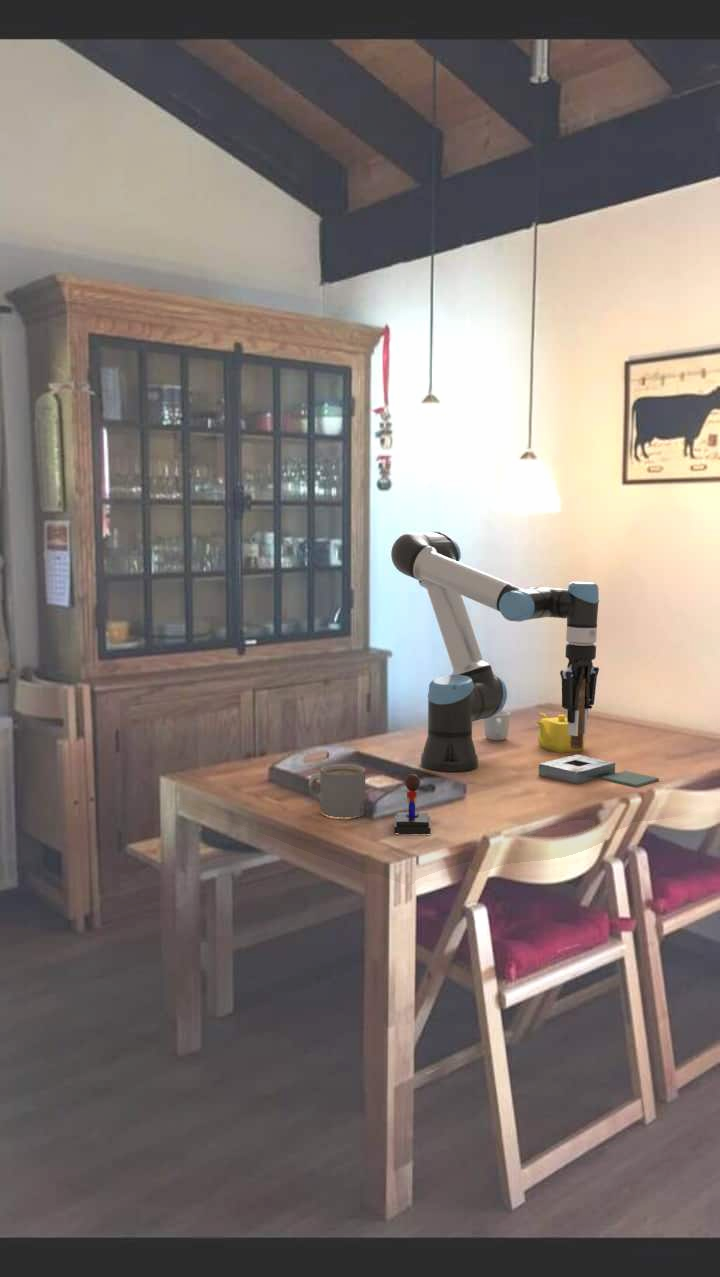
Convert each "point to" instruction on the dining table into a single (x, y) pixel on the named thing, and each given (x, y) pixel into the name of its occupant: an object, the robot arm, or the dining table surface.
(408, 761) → the dining table surface
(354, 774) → the coffee mug
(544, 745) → the teapot
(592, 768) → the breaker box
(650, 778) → the coaster
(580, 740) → the brown wooden block
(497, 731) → the cup
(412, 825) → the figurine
